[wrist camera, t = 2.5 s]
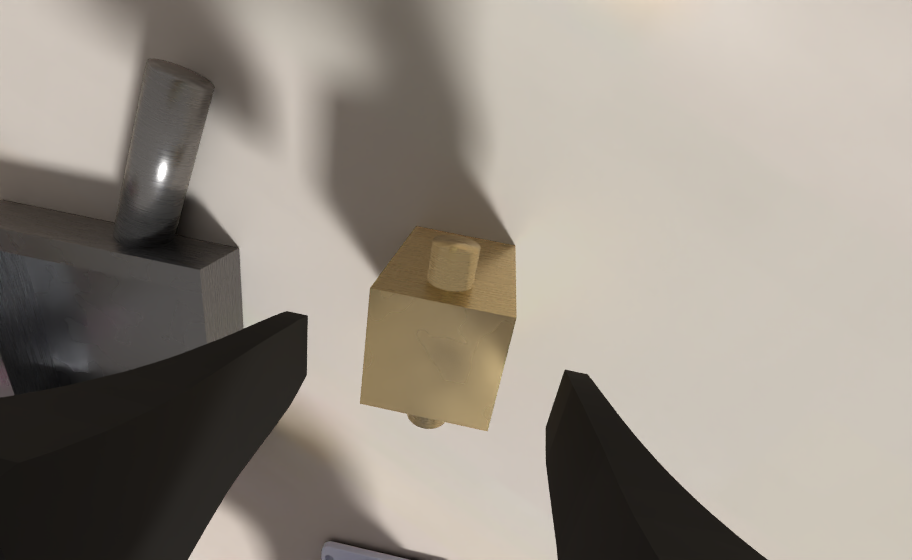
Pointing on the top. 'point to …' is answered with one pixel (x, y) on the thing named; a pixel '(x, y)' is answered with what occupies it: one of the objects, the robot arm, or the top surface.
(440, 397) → the brass block with pegs
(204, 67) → the top surface
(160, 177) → the steel shaft
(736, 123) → the top surface
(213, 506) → the robot arm
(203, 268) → the grey square tray
